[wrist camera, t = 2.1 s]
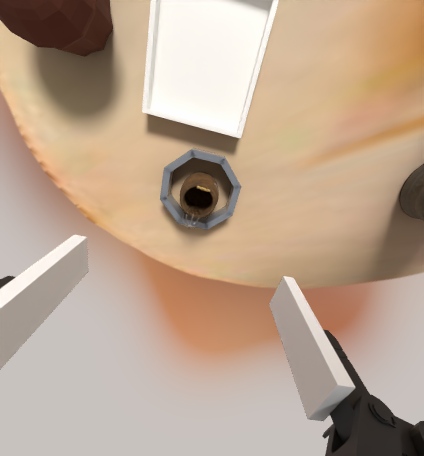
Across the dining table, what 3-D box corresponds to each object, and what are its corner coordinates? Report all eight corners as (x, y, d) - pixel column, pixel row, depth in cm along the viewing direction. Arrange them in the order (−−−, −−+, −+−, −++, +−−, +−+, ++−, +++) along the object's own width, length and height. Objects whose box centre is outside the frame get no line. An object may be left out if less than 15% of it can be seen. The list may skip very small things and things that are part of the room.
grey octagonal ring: (171, 142, 31) (167, 142, 28) (245, 161, 32) (248, 163, 29) (161, 212, 36) (157, 218, 33) (225, 226, 37) (226, 234, 34)
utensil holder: (179, 199, 35) (164, 229, 24) (189, 164, 32) (177, 179, 22) (211, 209, 36) (210, 243, 25) (223, 176, 33) (228, 196, 22)
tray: (161, -44, 23) (155, -63, 20) (276, -3, 24) (283, -18, 22) (147, 113, 29) (142, 112, 27) (238, 138, 31) (240, 138, 28)
